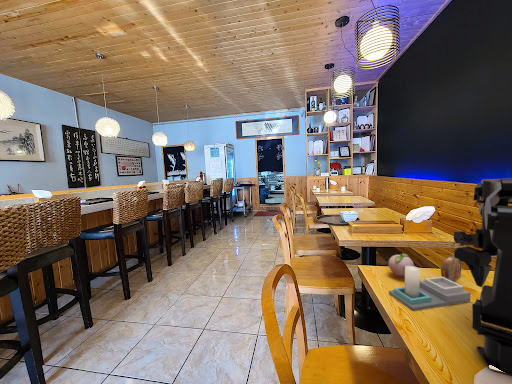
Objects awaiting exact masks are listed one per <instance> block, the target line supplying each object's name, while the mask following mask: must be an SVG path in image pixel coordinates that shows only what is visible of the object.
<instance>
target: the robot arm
mask: <svg viewBox="0 0 512 384" xmlns="http://www.w3.org/2000/svg"><path fill="white" fill-rule="evenodd" d="M473 201H475V203H476V204H479V206H478V213H479V215H480V217H481V226H480V228H476V230H474V232H475V233H468V234H467V233H466V231H454V232H453V240H454V243H456V244H459V246H461V247H457V248H455V249H454V250H453V256H454V257H455V258H457V259H459V260H460V261H461V263H464V264H465V265H466V266H467V267H468V269H469V270H470V273H471V275H472V277H473V280H474V282H475V285H476V286H477V287H480V288H481V292H480V294H479V299H478V298H476V299H475V302H474V303H472V304H471V305H472V307H471V308H472V309H471V310H472V312H471V313H472V314H471V315H472V316H471V317H472V318H471V319H472V322H471V323H472V324H471V327H472V329H473V330H475V331H476V333H477V335H479V336H483V339H484V340H483V347H482V346H479V345H478V346H476V350H477V352H478V353H479V355H480V356H481V358H482V360H483V359H484V360H483V361H484V363H485V364H486V366H487V367H488V366H489V365H492V366H494V367H496V368H498V369H499V370H501V371H503V372H505V373H507V374H506V375H508V374H509V376H512V178H510V177H508V178H505V177H503V178H491V179H489V178H485V179H481V181H480V183H477V184H476V186H475V187H474V190H473ZM471 246H473V247H471ZM480 249H481V250H480ZM492 258H496V260H495V266H494V271H493V280H492V285H487V284H486V285H485V283H486V281H487V278H488V277H489V273H490V272H491V269H492V265H491V263H492V260H493V259H492ZM505 373H504V374H505Z"/></svg>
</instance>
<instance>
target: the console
mask: <svg viewBox="0 0 512 384" xmlns="http://www.w3.org/2000/svg"><path fill="white" fill-rule="evenodd" d="M388 294H389V295H390V296H391V297H393V298H394V299H395V300H398V302H400V303H402V304H403V305H404V306H405V307H406V308H408V309H410V310H411V311H413V312H414V311H415V312H416V311H420V310H427V309H434V308H439V307H445V306H451V305H452V306H453V305H458V304H459V305H460V304H464V303H470V302H471V292H469V291H468V290H465V286H464V285H462V284H460V283H457V282H453V281H451V280H449V279H446V278H444V277H442V276H436V277H428V278H424V280H420V289H419V298H410V297H409V296H407V295H405V286H403V287H396V288H393V289H392V290H388Z"/></svg>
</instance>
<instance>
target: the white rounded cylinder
mask: <svg viewBox="0 0 512 384" xmlns="http://www.w3.org/2000/svg"><path fill="white" fill-rule="evenodd" d="M403 269H404V270H405V277H404V287H405V295H407V296H409V297H410V298H419V289H420V281H421V279H420V277H421V269H420V268H419V266H418V267H417V266H415V265H414V266H403Z"/></svg>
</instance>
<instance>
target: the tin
mask: <svg viewBox="0 0 512 384" xmlns="http://www.w3.org/2000/svg"><path fill="white" fill-rule="evenodd" d="M461 274H462V261H460V260H459V259H457V258H455V257H454V255H453V256H452V255H450V256H449V255H448V257H447V258H445V259H444V260H443V261H442V262H441V266H440V275H441V276H442V277H444V278H446V279H449V280H451V281H453V282H455V283H457V281H458V280H459V278H460V277H461ZM441 276H440V277H441Z"/></svg>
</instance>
